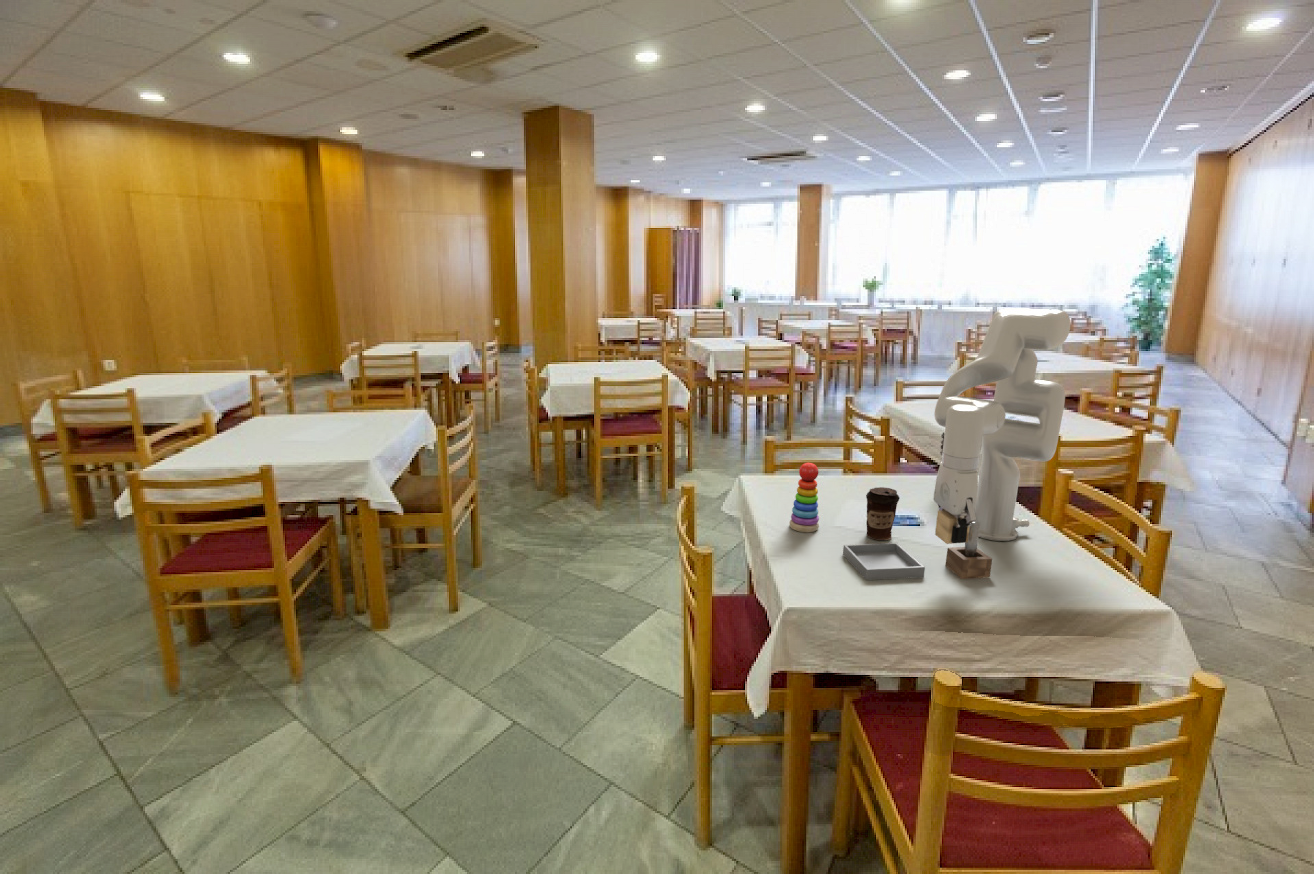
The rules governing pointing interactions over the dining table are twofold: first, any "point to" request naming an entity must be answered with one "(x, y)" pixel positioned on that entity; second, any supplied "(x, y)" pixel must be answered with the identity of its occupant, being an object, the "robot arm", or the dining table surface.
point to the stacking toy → (806, 501)
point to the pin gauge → (972, 540)
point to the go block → (968, 563)
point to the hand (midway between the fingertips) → (951, 536)
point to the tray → (883, 561)
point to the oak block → (946, 526)
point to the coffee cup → (881, 512)
